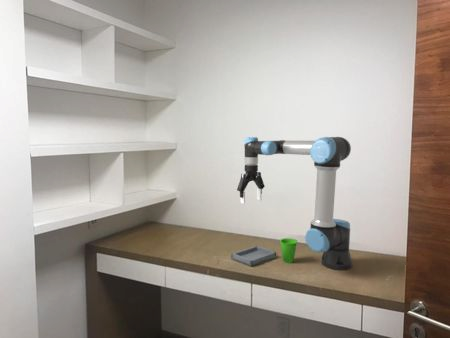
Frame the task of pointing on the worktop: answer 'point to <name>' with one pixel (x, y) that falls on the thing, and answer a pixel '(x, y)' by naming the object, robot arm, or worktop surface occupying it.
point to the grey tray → (253, 256)
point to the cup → (288, 249)
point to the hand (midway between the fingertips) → (251, 201)
